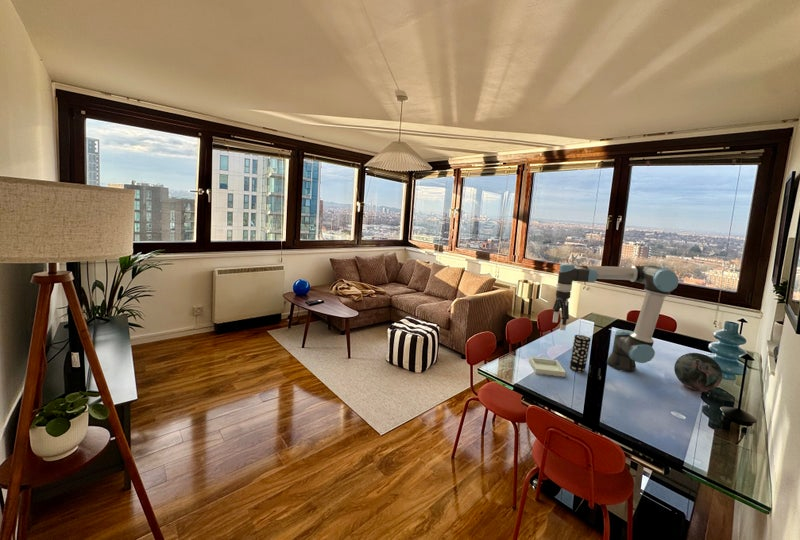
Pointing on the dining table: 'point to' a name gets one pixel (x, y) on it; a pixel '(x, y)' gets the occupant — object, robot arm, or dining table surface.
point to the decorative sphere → (698, 371)
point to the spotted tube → (579, 353)
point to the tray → (547, 366)
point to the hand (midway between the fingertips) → (558, 326)
